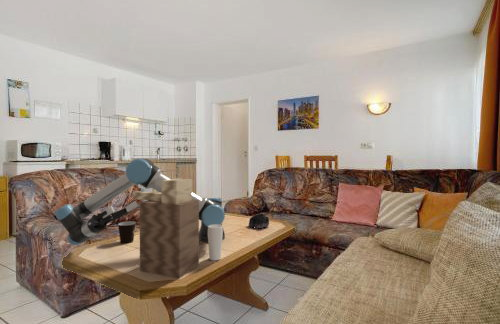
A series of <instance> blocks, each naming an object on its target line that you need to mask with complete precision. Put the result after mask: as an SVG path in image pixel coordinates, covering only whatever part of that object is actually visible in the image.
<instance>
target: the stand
mask: <svg viewBox="0 0 500 324" xmlns="http://www.w3.org/2000/svg"><path fill="white" fill-rule="evenodd" d="M199 226H200V220H199V200H191V201H187V202H183V203H179V204H166V203H162V201H153V200H144V201H143V200H142V201H139V272H144V273H149V274H154V275H160V276H164V277H165V276H166V277H170V278H176V279H181V278H182V277H184V276H185V275H187V274H188V273H189V272H191V271H192V270H194V269H195V268H197V267H199V263H200V260H199V259H200V257H199V255H200V253H199V251H200V249H199V248H200V247H199V245H200V244H199V243H200V240H199V230H200V227H199Z"/></svg>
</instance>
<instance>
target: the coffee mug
mask: <svg viewBox="0 0 500 324" xmlns="http://www.w3.org/2000/svg"><path fill="white" fill-rule="evenodd" d="M117 226H118V234H119V235H118V236H119V241H120V243H121V244H122V245H123V244H124V245H125V244H126V245H127V244H131V243H133V242H134V238H135V229H136V222H135V221H122V222H119V223H118V225H117Z"/></svg>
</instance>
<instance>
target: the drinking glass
mask: <svg viewBox="0 0 500 324" xmlns="http://www.w3.org/2000/svg"><path fill="white" fill-rule="evenodd" d="M223 230H224V228H223V224H222V225H218V224H214V225H209V226H208V242H207V243H208V245H207V246H208V257H209V260H210V261H213V262H214V261H219V260H221V258H222V248H223V247H222V244H223V240H222V237H223Z"/></svg>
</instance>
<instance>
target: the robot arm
mask: <svg viewBox="0 0 500 324" xmlns="http://www.w3.org/2000/svg"><path fill="white" fill-rule="evenodd" d="M170 179H171V178H170V177H169V176H166V175H165V174H163V172H162V169H161V168H159V167H158V166H157V165H155V164H154V163H153V161H152V160H150V159H147V158H136V159H133V160H131V161H130V162H129V163H128V164H127V166H126V167H125V173H124V174H122V176H119V177H118V178H117V179H115V180H114V181H112V182H111V183H109V184H108V185H106V186H104V187H103V188H101V189H100V190H98V191H96V192H95V193H94V194H92V195H91V196H89V197H88V198H86V199H84V200H83V201H81V202H80V203H79V204H77V205H75V206H72V205H71V204H70V203H68V204H67V203H66V204H65V205H63V206H61V207H59V208H58V209H57V210H55V211H54V215H55V217H56V218H57V220H58V221H59V222H60V224H61V225H62V226H63V227H64V229H65V230H66V231H67V233H68V234H67V242H68V243H70V244H71V245H73V246H79V245H81V244H83V243H85V242H87V241H88V240H90V239H92V238H94V237H96V235H97V234H99V233H101V232H102V231H104V230H105V229H106V228H107V225H108V224H110V222H114V221H116V220H117V219H118V220H119V219H120V218H122V217H124V216H126V215H128V214H129V213H132V210H134V209H135V208H137V207H139V206H138V205H139V204H138V203H137V201H136V200H133V202H131V203H130V204H128V205H125V207H124V208H122V209H119V210H118V211H117V210H116V211H115V209H114V207H113V205H110V206H109V207H107V208H105V209H103V211H100V213H99V212H98V213H97V214H93V213H94V212H96V211H97V210H99V209H100V208H101V207H103V206H105V205H106V204H108V203H109V202H111V201H112V200H114V199H115V198H117V197H119V195H121V194H123V193H124V192H125V191H127V190H129V189H131V188H132V187H133V186H139V185H140V186H142V187H143V188H145V189H147V190H148V189H153V190H155V191H156V192H158V193H162V180H170ZM192 200H199V221H200V222H201V223H200V224H201V225H200V227H199V242H200V241H202V242H204V243H205V242H207V243H208V226H209V225H214V224H218V225H222V226H223V223H224V220H225V219H226V218H225V217H226V213H225V209H224V208H223V199H222V198H221V197H207V196H205V197H201V196H199V195H198V194H196V193H195V192H193V191H192ZM92 214H93V215H92ZM90 215H92V216H91V218H90V219H88V220H86V221H84V220H83V219H86V218H87V217H89V216H90ZM225 238H226V233H225V230H224V229H223V237H222V241H223V240H225Z"/></svg>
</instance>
